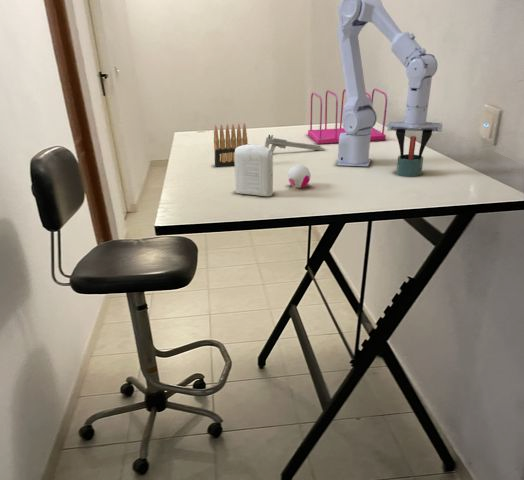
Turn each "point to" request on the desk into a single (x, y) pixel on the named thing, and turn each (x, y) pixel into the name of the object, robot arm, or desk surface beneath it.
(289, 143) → the caliper
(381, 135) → the file sorter
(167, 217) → the desk surface
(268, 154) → the white tall block
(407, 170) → the cup
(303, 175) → the stress ball
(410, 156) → the red cylinder rod
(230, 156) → the ammunition clip
